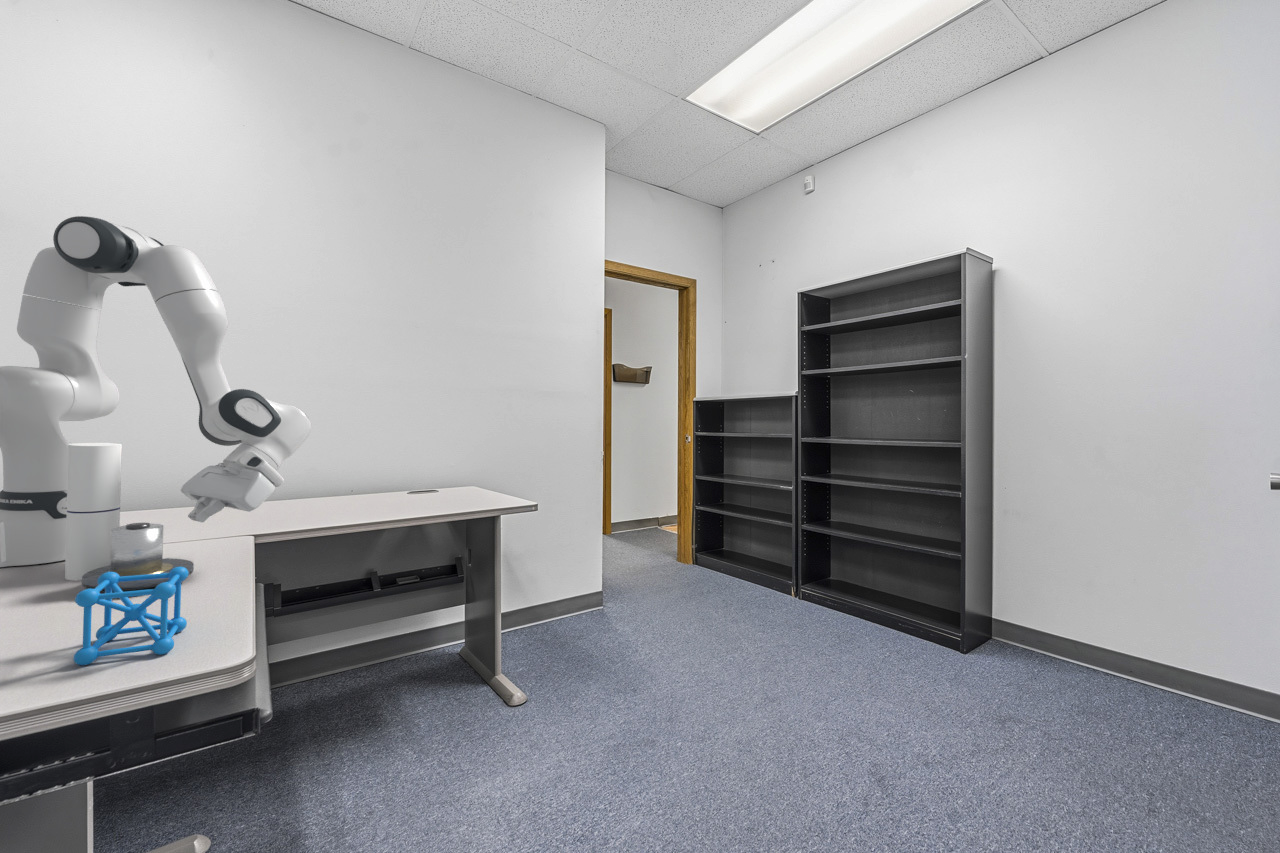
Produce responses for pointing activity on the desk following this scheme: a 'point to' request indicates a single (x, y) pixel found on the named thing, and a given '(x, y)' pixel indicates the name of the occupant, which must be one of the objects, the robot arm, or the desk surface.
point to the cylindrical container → (91, 505)
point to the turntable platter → (167, 565)
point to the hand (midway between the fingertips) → (194, 519)
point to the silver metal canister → (136, 549)
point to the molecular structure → (131, 614)
